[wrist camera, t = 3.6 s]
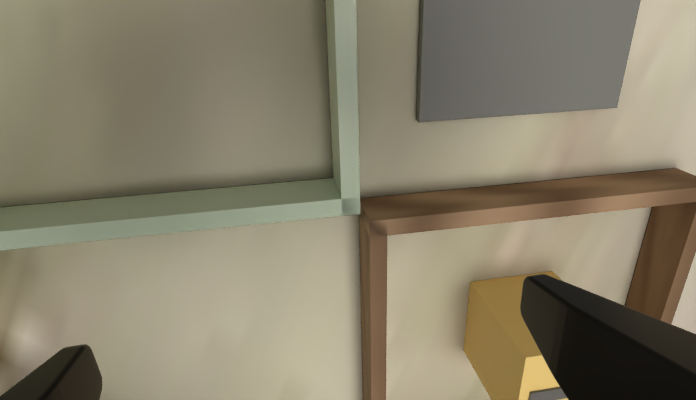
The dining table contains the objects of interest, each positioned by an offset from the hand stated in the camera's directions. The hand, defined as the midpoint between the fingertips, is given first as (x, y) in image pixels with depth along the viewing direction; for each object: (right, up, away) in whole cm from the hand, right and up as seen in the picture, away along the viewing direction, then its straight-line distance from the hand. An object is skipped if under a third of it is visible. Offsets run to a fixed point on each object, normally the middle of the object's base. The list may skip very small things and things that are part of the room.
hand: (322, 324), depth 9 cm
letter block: (+10, -4, +17) cm, 20 cm away
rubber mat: (+8, +11, +10) cm, 17 cm away
